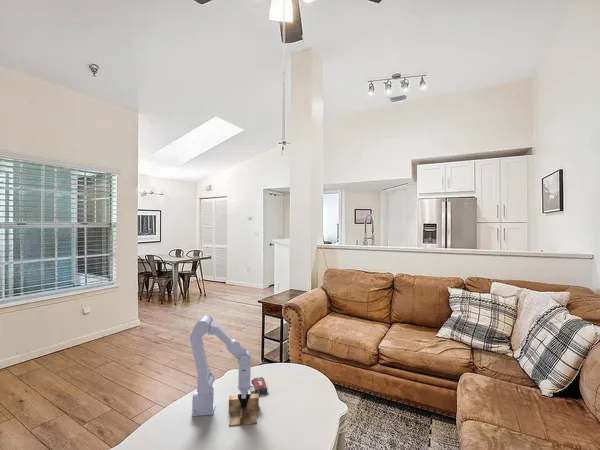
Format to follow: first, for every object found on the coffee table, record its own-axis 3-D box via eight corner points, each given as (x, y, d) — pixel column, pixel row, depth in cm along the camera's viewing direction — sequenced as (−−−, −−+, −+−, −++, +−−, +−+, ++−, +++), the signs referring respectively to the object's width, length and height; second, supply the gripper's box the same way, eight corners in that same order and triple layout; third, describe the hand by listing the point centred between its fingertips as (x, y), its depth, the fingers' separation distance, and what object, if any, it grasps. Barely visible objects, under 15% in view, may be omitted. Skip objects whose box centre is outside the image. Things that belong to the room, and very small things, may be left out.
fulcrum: (228, 426, 128) (229, 419, 127) (230, 414, 135) (230, 407, 135) (256, 423, 129) (256, 417, 129) (256, 412, 137) (256, 405, 137)
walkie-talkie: (247, 383, 162) (252, 405, 143) (248, 375, 162) (253, 396, 143) (263, 381, 165) (270, 402, 146) (263, 373, 165) (270, 393, 146)
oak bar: (228, 412, 137) (228, 399, 137) (229, 407, 141) (229, 395, 140) (258, 410, 139) (258, 397, 139) (258, 405, 143) (258, 393, 143)
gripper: (252, 384, 133) (252, 413, 133) (253, 368, 147) (252, 394, 148) (237, 385, 132) (236, 414, 132) (238, 369, 146) (238, 395, 147)
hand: (244, 404), depth 140 cm, fingers open, 6 cm apart
